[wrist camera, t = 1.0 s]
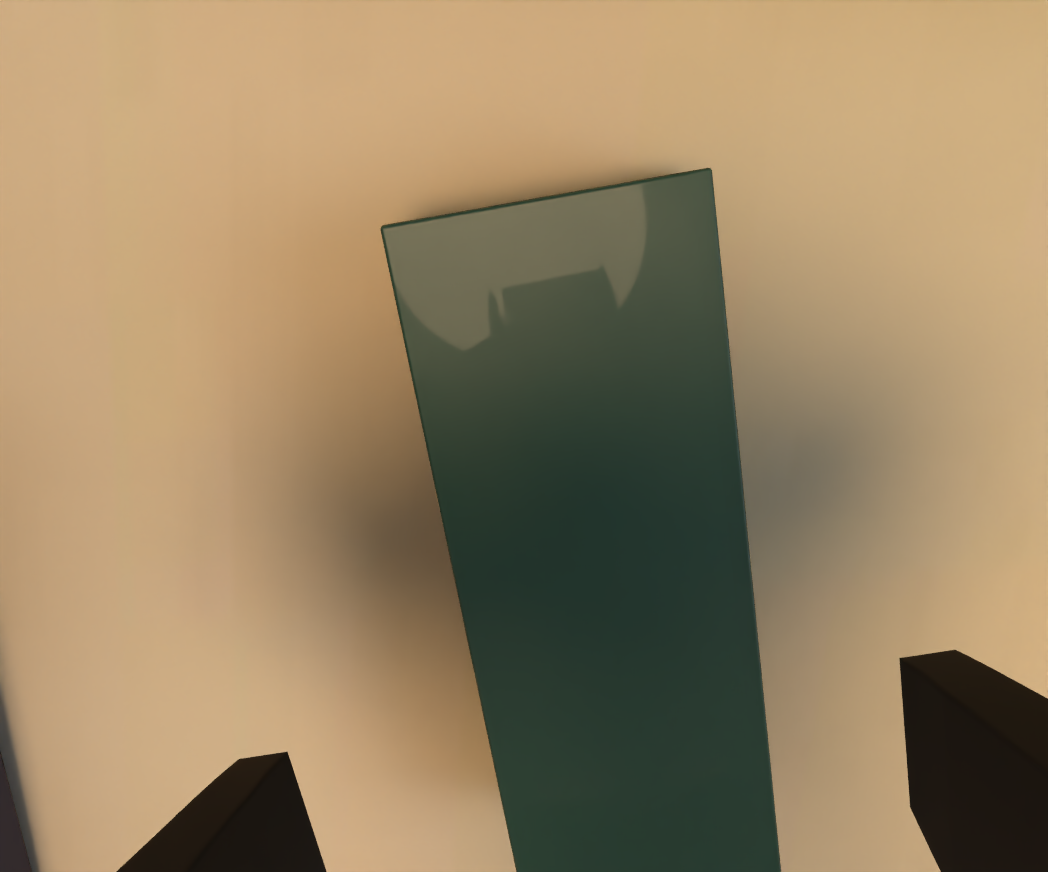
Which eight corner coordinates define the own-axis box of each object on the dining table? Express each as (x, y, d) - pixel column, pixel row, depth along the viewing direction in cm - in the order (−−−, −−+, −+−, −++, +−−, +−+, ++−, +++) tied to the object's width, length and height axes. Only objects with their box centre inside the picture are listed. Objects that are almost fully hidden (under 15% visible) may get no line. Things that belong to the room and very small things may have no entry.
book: (746, 775, 19) (781, 875, 16) (526, 802, 20) (523, 904, 17) (680, 174, 15) (712, 167, 13) (409, 221, 16) (378, 226, 13)
